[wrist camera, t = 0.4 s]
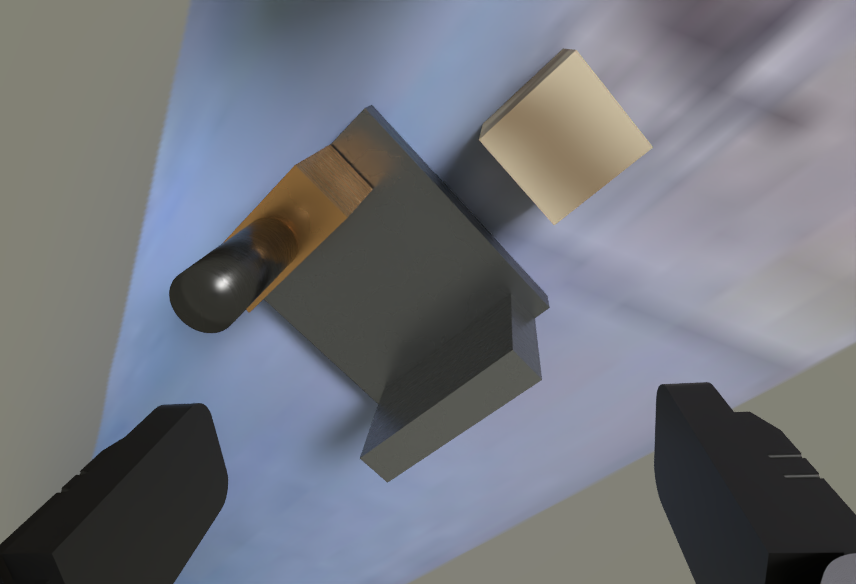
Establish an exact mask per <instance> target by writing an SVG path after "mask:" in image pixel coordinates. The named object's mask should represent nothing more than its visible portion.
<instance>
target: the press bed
mask: <svg viewBox="0 0 856 584" xmlns="http://www.w3.org/2000/svg"><path fill="white" fill-rule="evenodd" d="M331 146H332V147H333V148H334V149H335V150H336V151H337V152H338V153H339V154H340V155H341V156H342V158H343V159H344V160H345V161H346V162H347V163H348V164H349V165H350V166H351V167H352V168H353V169H354V170H355V171H356V172H357V173H358V174H359V175H360V176H361V177H362V178H363V179H364V180H365V181H366V182H367V184H368V185H369V186H370V187H371V188H372V189H373V190H372V191H371V192H370V193H369V194H368V195H367V196H366V197H365V199H364V200H363V201H362V202H361V203H360V204H359V205H358V206H357V208H356V209H355V210H354V211H353V212H352V213H351V214H350V215H349V217H348V218H347V219H346V220H345V221H344V222H342V223H341V224H340V225H339V226H338V227H337V228H336V229H335V230H334V231H333V232H332V233H331V234H330V235H329V236H328V237H327V238H326V239H325V240H324V241H323V242H322V243H321V244H320V245H319V246H318V247H317V248H316V249H315V250H314V251H312V252H311V253H310V254H309V255H308V256H307V257H306V258H305V259H304V260H303V261H302V262H301V263H300V264H299V265H298V266H297V267H296V268H295V269H294V270H293V271H292V272H291V273H290V274H289V275H288V276H287V277H286V278H285V279H284V280H283V281H281V282H280V283H279V284H278V285H277V286H276V287H275V288H274V289H273V290H272V291H271V292H270V293H269V294H268V295H267V296H266V297H265V298H264V300H265V301H266V302H268V303H269V304H270V305H271V306H272V307H273V308H274V309H275V310H276V311H277V312H278V313H280V314H281V315H282V316H283V317H284V318H285V319H286V320H287V321H288V322H289V323H290V324H292V325H293V326H294V327H295V328H296V329H297V330H298V331H299V332H300V333H301V334H302V335H304V336H305V337H306V338H307V339H308V340H309V341H310V342H311V343H312V344H313V345H314V346H316V347H317V348H318V349H319V350H320V351H321V352H322V353H323V354H324V355H325V356H326V357H328V358H329V359H330V360H331V361H332V362H333V363H334V364H335V365H336V366H337V367H338V368H340V369H341V370H342V371H343V372H344V373H345V374H346V375H347V376H348V377H349V378H350V379H352V380H353V381H354V382H355V383H356V384H357V385H358V386H359V387H360V388H361V389H362V390H364V391H365V392H366V393H367V394H368V395H369V396H370V397H371V398H372V399H373V400H374V401H376V402H377V403H378V407H377V410H376V413H375V416H374V419H373V421H372V424H371V427H370V430H369V433H368V436H367V439H366V442H365V445H364V448H363V450H362V453H361V456H360V459H361V460H362V461H363V462H365V463H366V464H367V465H368V466H369V467H370V468H371V469H373V470H374V471H375V472H376V473H377V474H378V475H379V476H381V477H382V478H383V479H384V480H385V481H386V482H387V483H388V482H389V481H391V480H392V479H394V478H395V477H397V476H398V475H400V474H401V473H403V472H404V471H406V470H407V469H409V468H410V467H412V466H413V465H415V464H416V463H418V462H419V461H421V460H422V459H424V458H425V457H427V456H428V455H430V454H431V453H433V452H434V451H436V450H437V449H439V448H440V447H442V446H443V445H445V444H446V443H448V442H449V441H451V440H452V439H454V438H455V437H457V436H458V435H460V434H461V433H463V432H464V431H466V430H467V429H469V428H470V427H472V426H473V425H475V424H476V423H478V422H479V421H481V420H482V419H484V418H485V417H487V416H488V415H490V414H491V413H493V412H494V411H496V410H497V409H499V408H500V407H502V406H503V405H505V404H506V403H508V402H509V401H511V400H512V399H514V398H515V397H517V396H518V395H520V394H521V393H523V392H524V391H526V390H527V389H529V388H530V387H532V386H533V385H535V384H536V383H538V382H539V381H541V380H542V376H541V367H540V359H539V350H538V341H537V333H536V324H535V318H536V317H537V316H539V315H540V314H541V313H543V312H544V311H545V310H547V309H548V308H549V302H548V296H547V295H546V294H545V293H544V292H543V291H542V289H541V288H540V287H539V286H538V285H537V284H536V283H535V282H534V281H533V280H532V279H531V278H530V276H529V275H528V274H527V273H526V272H525V271H524V270H523V269H522V268H521V267H520V266H519V264H518V263H517V262H516V261H515V260H514V259H513V258H512V257H511V256H510V255H509V254H508V252H507V251H506V250H505V249H504V248H503V247H502V246H501V245H500V244H499V243H498V242H497V241H496V239H495V238H494V237H493V236H492V235H491V234H490V233H489V232H488V231H487V230H486V229H485V227H484V226H483V225H482V224H481V223H480V222H479V221H478V220H477V219H476V218H475V217H474V215H473V214H472V213H471V212H470V211H469V210H468V209H467V208H466V207H465V206H464V205H463V204H462V202H461V201H460V200H459V199H458V198H457V197H456V196H455V195H454V194H453V193H452V192H451V190H450V189H449V188H448V187H447V186H446V185H445V184H444V183H443V182H442V181H441V180H440V179H439V177H438V176H437V175H436V174H435V173H434V172H433V171H432V170H431V169H430V168H429V167H428V165H427V164H426V163H425V162H424V161H423V160H422V159H421V158H420V157H419V156H418V155H417V153H416V152H415V151H414V150H413V149H412V148H411V147H410V146H409V145H408V144H407V143H406V142H405V140H404V139H403V138H402V137H401V136H400V135H399V134H398V133H397V132H396V131H395V130H394V128H393V127H392V126H391V125H390V124H389V123H388V122H387V121H386V120H385V119H384V118H383V117H382V115H381V114H380V113H379V112H378V111H377V110H376V109H375V108H374V107H373V106H372V105H371V106H368V107H366V108H365V109H364V110H363V111H362V112H361V113H360V114H359V115H358V116H357V117H356V118H355V119H354V120H353V121H352V122H351V123H350V125H349V126H348V127H347V128H346V129H345V130H344V131H343V132H342V133H341V134H340V135H339V136H338V137H337V138H336V139H335V140H334V142H333V143H332V144H331Z"/></svg>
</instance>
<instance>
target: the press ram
mask: <svg viewBox="0 0 856 584" xmlns="http://www.w3.org/2000/svg"><path fill="white" fill-rule="evenodd" d="M372 190H373V189H372V188H371V187H370V186H369V185H368V184H367V182H366V181H365V180H364V179H363V178H362V177H361V176H360V175H359V174H358V173H357V172H356V171H355V170H354V169H353V168H352V167H351V166H350V165H349V164H348V163H347V162H346V161H345V160H344V159H343V158H342V156H341V155H340V154H339V153H338V152H337V151H336V150H335V149H334V148H333V147H332V146H331V145H329V146H327V147H325V148H323V149H322V150H320V151H318V152H317V153H315V154H313V155H311V156H310V157H308V158H306V159H305V160H303V161H301V162H300V163H298V164H296V165H295V166H294V167H293V168H292V169H291V170H290V171H289V172H288V173H287V174H286V175H285V177H284V178H283V179H282V180H281V181H280V182H279V183H278V184H277V185H276V186H275V187H274V188H273V190H272V191H271V192H270V193H269V194H268V195H267V196H266V197H265V198H264V199H263V200H262V201H261V202H260V204H259V205H258V206H257V207H256V208H255V209H254V210H253V211H252V212H251V213H250V214H249V215H248V217H247V218H246V219H245V220H244V221H243V222H242V223H241V224H240V225H239V226H238V227H237V228H236V229H235V231H234V232H233V233H232V234H231V235H230V236H229V237H228V238H227V239H226V240H225V241H224V242H223V244H221V245H220V246H218V247H217V248H216V249H214V250H213V251H211V252H210V253H209V254H207V255H206V256H204V257H203V258H202V259H200V260H199V261H197V262H196V263H195V264H193V265H192V266H190V267H189V268H188V269H186V270H185V271H183V272H182V273H181V274H179V275H178V276H177V277H176V278H175V279H174V280H173V282H172V284H171V286H170V291H169V297H170V302H171V305H172V308H173V310H174V312H175V313H176V314H177V316H178V317H179V318H180V319H181V320H182V321H183V322H184V323H185V324H186V325H188V326H189V327H191V328H193V329H195V330H197V331H200V332H204V333H217V332H221V331H223V330H225V329H227V328H228V327H229V326H230V325H231V324H232V323H233V322H234V321H235V320H236V319H237V318H238V317H239V316H240V315H241V314H242V313H243V312H244V311H245V310H247V311H248V312H250V311H251V310H253V309H254V308H255V307H256V306H257V305H258V304H259V303H260V302H261V301H262V300H263V299H264V298H265V297H266V296H267V295H268V294H269V293H270V292H271V291H272V290H273V289H274V288H275V287H276V286H277V285H278V284H279V283H280V282H281V281H283V280H284V279H285V278H286V277H287V276H288V275H289V274H290V273H291V272H292V271H293V270H294V269H295V268H296V267H297V266H298V265H299V264H300V263H301V262H302V261H303V260H304V259H305V258H306V257H307V256H308V255H309V254H310V253H311V252H312V251H314V250H315V249H316V248H317V247H318V246H319V245H320V244H321V243H322V242H323V241H324V240H325V239H326V238H327V237H328V236H329V235H330V234H331V233H332V232H333V231H334V230H335V229H336V228H337V227H338V226H339V225H340V224H341V223H342V222H344V221H345V220H346V219H347V218H348V217H349V215H350V214H351V213H352V212H353V211H354V210H355V209H356V208H357V206H358V205H359V204H360V203H361V202H362V201H363V200H364V199H365V197H366V196H367V195H368V194H369V193H370V192H371V191H372Z"/></svg>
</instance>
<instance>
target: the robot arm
mask: <svg viewBox="0 0 856 584" xmlns="http://www.w3.org/2000/svg"><path fill="white" fill-rule="evenodd" d="M654 470H655V479H656V485H657V490H658V494H659V498H660V501H661V503H662V506H663V508H664V510H665V513H666V515H667V517H668V520H669V522H670V524H671V527H672V529H673V531H674V534H675V536H676V538H677V541H678V543H679V545H680V548H681V550H682V552H683V554H684V557H685V559H686V562H687V564H688V566H689V568H690V571H691V573H692V575H693V578H694V580H695V582H696V584H856V515H855V514H854V512H853V511H852V510H851V509H850V508H849V507H848V506H847V504H845V502H844V501H843V500H842V499H841V498H840V497H839V496H838V494H837V493H836V492H835V491H834V490H833V489H832V488H831V486H830V485H829V484H828V483H827V482H826V481H825V480H824V479H820V477H819V473H818V472H817V471H816V469H815V468H814V467H813V466H812V465H811V464H810V463H809V462H808V461H807V459H806V458H802V456H801V453H800V451H799V450H798V449H797V448H796V447H795V446H794V445H793V444H792V443H791V441H790V440H789V439H788V438H787V437H786V436H785V434H784V433H783V432H782V431H781V430H780V429H778V428H776V427H774V426H773V425H771V424H769V423H768V422H766V421H764V420H763V419H761V418H759V417H758V416H756V415H754V414H753V413H751V412H733V410H732V409H731V408H730V406H729V405H728V404H727V403H726V401H725V400H724V399H723V398H722V396H721V395H720V394H719V392H718V391H717V390H716V389H715V387H714V386H713V385H712V384H711V383H708V382H703V383H680V384H661V385H660V386H659V387H658V390H657V397H656V424H655V455H654ZM80 472H81V473H80V475H75V476H74V477H73V478H72V479H71V480H70V481H69V482H68V483H67V484H66V485H64V486H63V487H62V491H61V493H56V494H55V495H54V496H52V498H50V499H49V500H48V501H47V502H46V503H45V504H44V505H43V506H42V507H41V508H40V509H38V510H37V511H36V512H35V513H34V514H33V515H32V516H31V517H30V518H28V519H27V521H25V522H24V523H23V524H22V525H21V526H20V527H19V528H18V529H16V530H15V531H14V532H13V533H12V534H11V535H10V536H9V537H8V538H7V539H6V540H5V541H4V542H2V543H1V544H0V584H173V583H174V582H175V580H176V579H177V577H178V576H179V574H180V573H181V571H182V570H183V568H184V566H185V565H186V563H187V562H188V560H189V559H190V557H191V556H192V554H193V552H194V551H195V549H196V548H197V546H198V545H199V543H200V542H201V540H202V539H203V537H204V535H205V534H206V532H207V531H208V529H209V528H210V526H211V525H212V523H213V521H214V520H215V518H216V517H217V515H218V514H219V512H220V511H221V509H222V507H223V505H224V503H225V499H226V496H227V490H228V475H227V470H226V467H225V463H224V459H223V456H222V452H221V448H220V445H219V441H218V437H217V434H216V430H215V426H214V423H213V419H212V416H211V413H210V411H209V409H208V408H207V407H206V406H205V405H204V404H201V403H194V404H172V405H161V406H159V407H157V408H156V409H154V410H153V411H152V412H151V413H150V414H149V415H148V416H147V417H146V418H145V419H144V420H143V421H142V422H141V423H140V424H138V425H137V426H136V427H135V428H134V429H133V430H132V431H131V432H130V433H129V434H128V435H127V436H126V437H124V438H122V439H121V440H119V441H118V442H116V443H114V444H113V445H111V446H109V447H108V448H106V449H104V450H103V451H102V452H100V453H99V454H98V455H97V456H96V457H95V458H94V459H93V460H92V461H91V462H90V463H88V464H87V465H86V466H85V467H84V468H83V469H82V470H81V471H80Z"/></svg>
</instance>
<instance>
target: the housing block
mask: <svg viewBox="0 0 856 584" xmlns="http://www.w3.org/2000/svg"><path fill="white" fill-rule="evenodd" d="M479 140H480V142H481V143H482V144H483V145H484V146H485V147H486V148H487V150H488V151H489V152H490V153H491V154H492V155H493V156H494V157H495V159H496V160H497V161H498V162H499V163H500V164H501V165H502V167H503V168H504V169H505V170H506V171H507V172H508V173H509V175H510V176H511V177H512V178H513V179H514V180H515V181H516V183H517V184H518V185H519V186H520V187H521V188H522V189H523V190H524V192H525V193H526V194H527V195H528V196H529V197H530V198H531V200H532V201H533V202H534V203H535V204H536V205H537V206H538V208H539V209H540V210H541V211H542V212H543V213H544V214H545V216H546V217H547V218H548V219H549V220H550V221H551V222H552V223H553V225H555V224H557V223H558V222H559V221H560V220H562V219H563V218H564V217H565V216H567V215H568V214H569V213H571V212H572V211H573V210H574V209H576V208H577V207H578V206H579V205H581V204H582V203H583V202H584V201H586V200H587V199H588V198H590V197H591V196H592V195H593V194H595V193H596V192H597V191H598V190H600V189H601V188H602V187H603V186H605V185H606V184H607V183H609V182H610V181H611V180H612V179H614V178H615V177H616V176H617V175H619V174H620V173H621V172H622V171H624V170H625V169H626V168H628V167H629V166H630V165H631V164H633V163H634V162H635V161H636V160H638V159H639V158H640V157H641V156H643V155H644V154H645V153H647V152H648V151H649V150H650V149H652V148H653V147H652V145H651V144H650V143H649V142H648V140H647V139H646V138H645V137H644V135H643V134H642V133H641V131H640V130H639V129H638V128H637V126H636V125H635V124H634V123H633V121H632V120H631V119H630V118H629V116H628V115H627V114H626V112H625V111H624V110H623V109H622V107H621V106H620V105H619V104H618V102H617V101H616V100H615V98H614V97H613V96H612V95H611V93H610V92H609V91H608V90H607V88H606V87H605V86H604V84H603V83H602V82H601V81H600V79H599V78H598V77H597V76H596V74H595V73H594V72H593V70H592V69H591V68H590V67H589V65H588V64H587V63H586V62H585V60H584V59H583V58H582V56H581V55H580V54H579V53H578V51H577V50H572V49H562V50H561V51H560V52H559V53H558V54H557V55H556V56H555V57H554V58H553V59H552V60H551V61H550V62H548V63H547V64H546V65H545V66H544V67H543V68H542V69H541V70H540V71H539V72H538V73H537V74H536V75H535V76H533V77H532V78H531V79H530V80H529V81H528V82H527V83H526V84H525V85H524V86H523V87H522V88H521V89H520V90H518V91H517V92H516V93H515V94H514V95H513V96H512V97H511V98H510V99H509V100H508V101H507V102H506V103H505V104H504V105H502V106H501V107H500V108H499V109H498V110H497V111H496V112H495V113H494V114H493V115H492V116H491V117H490V118H489V119H487V120H486V121H485V122H484V123H483V125H482V129H481V133H480V137H479Z"/></svg>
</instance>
